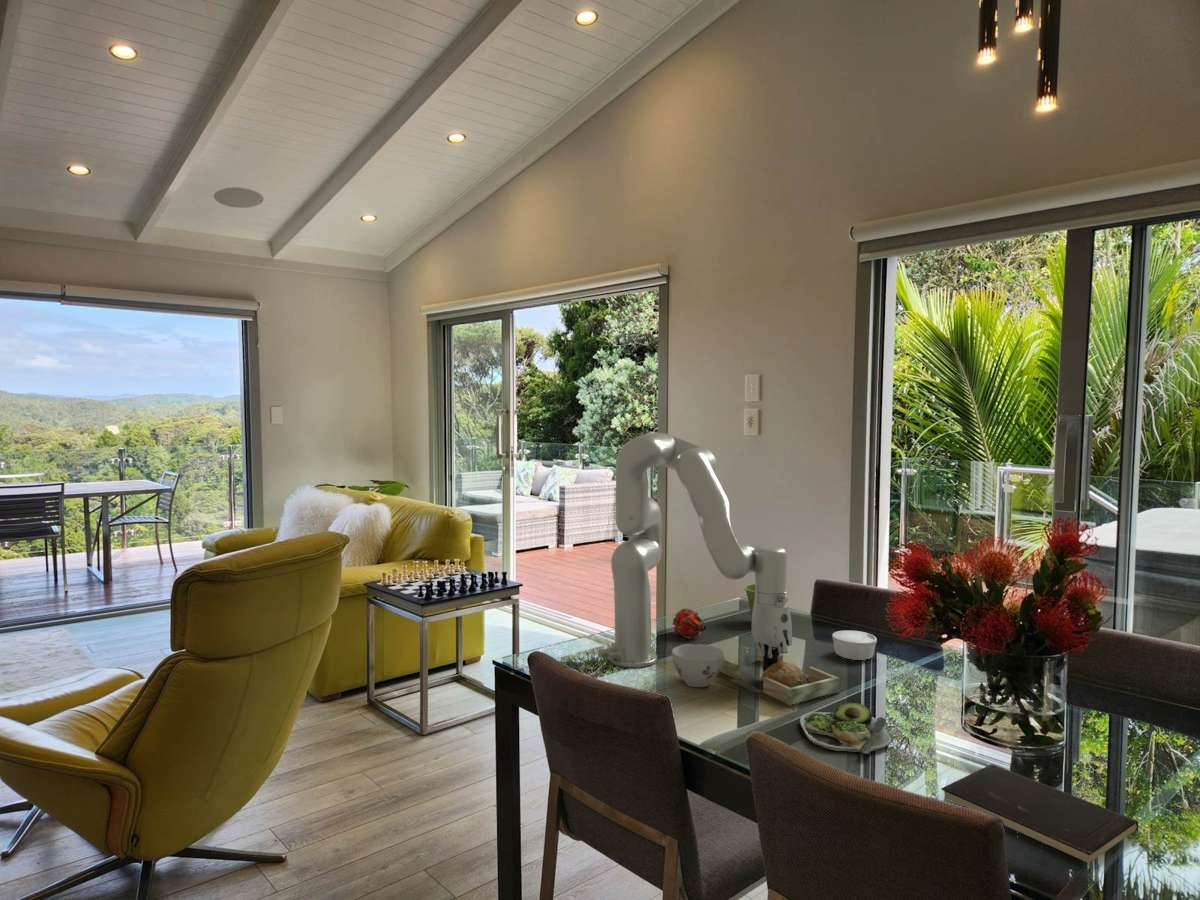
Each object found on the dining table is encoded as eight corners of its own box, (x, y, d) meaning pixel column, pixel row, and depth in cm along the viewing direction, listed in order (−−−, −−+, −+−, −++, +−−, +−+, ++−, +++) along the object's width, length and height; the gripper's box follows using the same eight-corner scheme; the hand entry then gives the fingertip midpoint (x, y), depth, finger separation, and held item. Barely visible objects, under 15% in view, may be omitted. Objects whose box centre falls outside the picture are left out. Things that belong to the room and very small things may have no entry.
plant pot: (760, 616, 241) (760, 581, 241) (791, 624, 232) (791, 587, 232) (735, 623, 234) (736, 587, 233) (767, 631, 225) (767, 594, 224)
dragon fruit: (680, 634, 228) (699, 652, 217) (660, 621, 224) (678, 638, 213) (697, 611, 228) (716, 627, 217) (677, 597, 225) (696, 613, 214)
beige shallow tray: (783, 707, 168) (783, 691, 168) (709, 670, 192) (709, 657, 192) (845, 691, 177) (845, 676, 177) (767, 658, 201) (767, 645, 201)
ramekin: (882, 662, 197) (882, 642, 197) (839, 662, 197) (839, 642, 197) (868, 649, 208) (868, 630, 208) (827, 649, 208) (827, 630, 208)
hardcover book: (1089, 868, 110) (1089, 853, 110) (941, 801, 129) (941, 787, 129) (1138, 833, 118) (1138, 819, 118) (993, 775, 138) (993, 762, 137)
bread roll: (788, 713, 174) (803, 685, 171) (750, 686, 179) (764, 659, 177) (804, 699, 182) (818, 672, 180) (767, 674, 187) (780, 647, 185)
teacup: (734, 688, 180) (734, 654, 179) (688, 696, 175) (688, 662, 174) (701, 668, 194) (701, 637, 193) (658, 675, 189) (657, 643, 188)
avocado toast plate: (909, 763, 142) (910, 739, 142) (811, 760, 144) (812, 736, 143) (881, 720, 161) (881, 699, 161) (795, 718, 163) (795, 697, 163)
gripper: (804, 602, 180) (803, 678, 181) (762, 589, 193) (761, 660, 194) (780, 606, 176) (779, 684, 177) (738, 593, 190) (738, 665, 191)
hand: (770, 671), depth 186 cm, fingers closed
